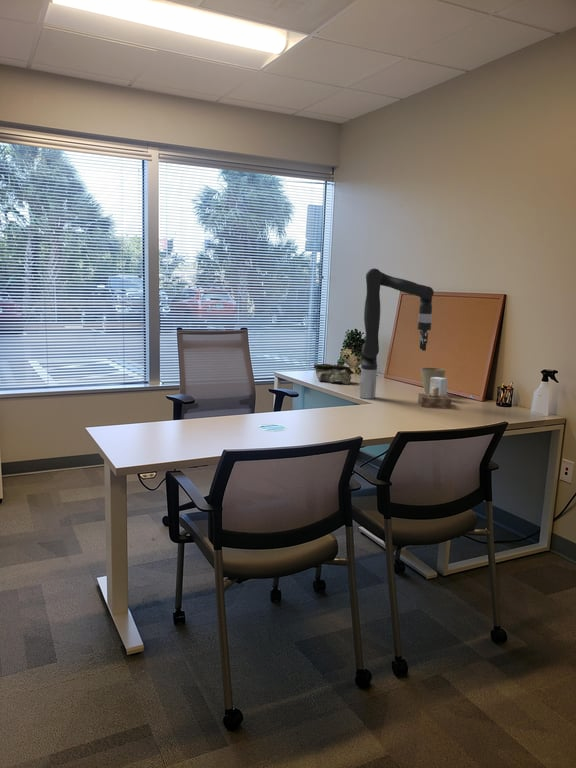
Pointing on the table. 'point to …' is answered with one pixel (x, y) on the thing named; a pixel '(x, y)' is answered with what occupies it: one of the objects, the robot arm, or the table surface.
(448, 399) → the walnut board
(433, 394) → the beech peg
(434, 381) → the small box
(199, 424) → the table surface
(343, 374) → the mossy rock
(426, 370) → the plant pot
